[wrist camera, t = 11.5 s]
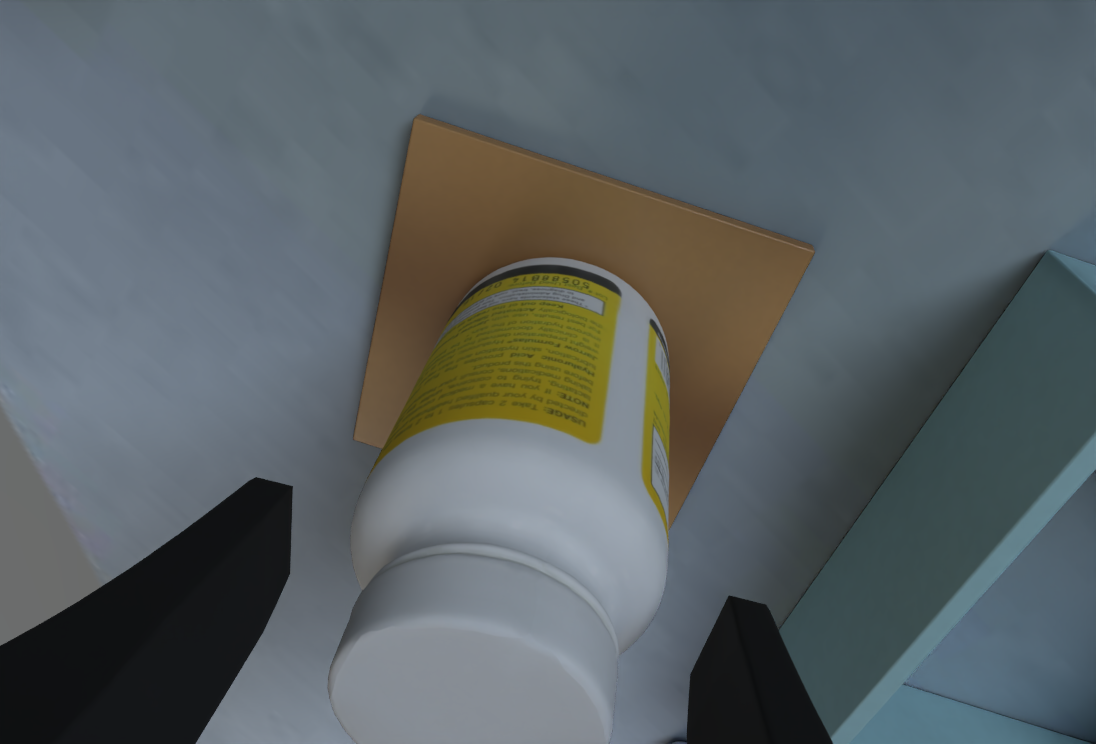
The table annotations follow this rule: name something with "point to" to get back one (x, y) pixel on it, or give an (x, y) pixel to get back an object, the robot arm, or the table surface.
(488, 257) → the coaster
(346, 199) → the table surface
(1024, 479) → the container
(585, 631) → the supplement bottle
